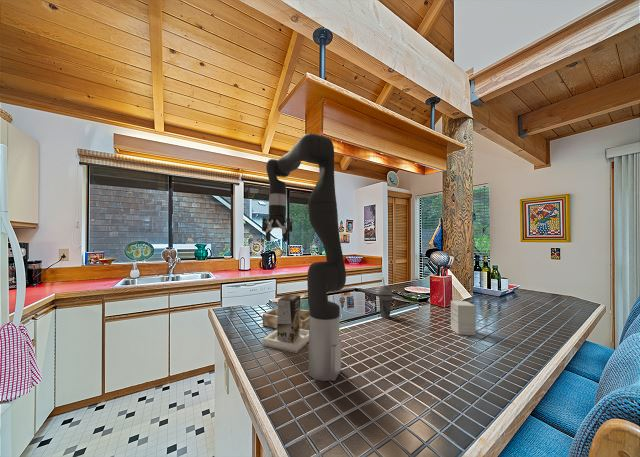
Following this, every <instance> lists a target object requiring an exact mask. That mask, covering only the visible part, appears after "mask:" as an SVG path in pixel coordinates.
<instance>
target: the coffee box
mask: <svg viewBox="0 0 640 457" xmlns="http://www.w3.org/2000/svg"><path fill="white" fill-rule="evenodd" d="M277 306H278V318H277V328H276V330H277V340H278V341H282V342H287V343H291V344H293V343H294V342H295V340H296V339H297V338H298V337H299V335H300V309H301V295H300V294H299V295H298V294H285V295H283V296H282V297H280V298H279V299H278V300H277Z"/></svg>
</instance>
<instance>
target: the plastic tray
mask: <svg viewBox="0 0 640 457" xmlns="http://www.w3.org/2000/svg"><path fill="white" fill-rule="evenodd" d="M262 340H263V341H262V342H263V344H262V345H263V346H265V347H269V348H273V349H277V350H282V351H285V352H290V353H295V354H297V353H298V352H300V350H301V349H302V348H304V347H305V346H306V345H307V344H309V330H303V329H300V335H299V337H298V338H297V339H296V340H295V342H294V343H293V344H291V343H287V342H282V341H278V340H277V329H275V330H274V331H273V332H271V333H270V334H267V335H266V336H265V337H264V338H263V339H262Z"/></svg>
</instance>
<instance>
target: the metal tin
mask: <svg viewBox="0 0 640 457" xmlns="http://www.w3.org/2000/svg"><path fill="white" fill-rule="evenodd" d="M274 309H275V316H278V305H277V306H275V307H274Z"/></svg>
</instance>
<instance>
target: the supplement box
mask: <svg viewBox="0 0 640 457" xmlns="http://www.w3.org/2000/svg"><path fill="white" fill-rule="evenodd" d="M476 311H477V310H476V305H474V304H473V303H471V302H469V301H467V300H465V301H464V300H463V301H462V300H461V301H460V300H450V329H451V330H452V331H454V332H455V333H456V334H457V335H461V336H463V335H466V336H476V335H477V334H476V332H477V331H476V327H477V326H476V321H477V320H476Z"/></svg>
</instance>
